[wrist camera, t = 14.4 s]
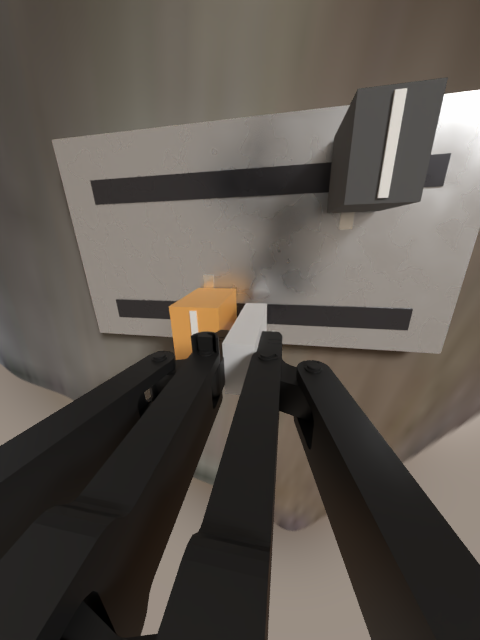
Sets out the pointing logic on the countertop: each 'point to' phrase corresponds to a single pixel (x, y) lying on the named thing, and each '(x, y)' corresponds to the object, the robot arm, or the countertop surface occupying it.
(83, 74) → the countertop surface
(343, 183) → the black fader
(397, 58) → the countertop surface
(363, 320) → the panel
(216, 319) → the orange fader
